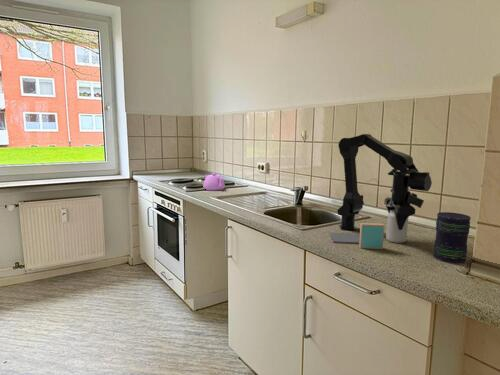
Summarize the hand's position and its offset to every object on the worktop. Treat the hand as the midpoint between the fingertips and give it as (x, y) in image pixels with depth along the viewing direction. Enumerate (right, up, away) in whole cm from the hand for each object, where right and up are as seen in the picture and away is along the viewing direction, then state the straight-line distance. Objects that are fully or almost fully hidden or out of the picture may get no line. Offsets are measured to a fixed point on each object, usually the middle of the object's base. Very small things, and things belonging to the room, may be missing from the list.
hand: (397, 227), depth 137 cm
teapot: (-84, +14, +118) cm, 145 cm away
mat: (-19, -5, +3) cm, 20 cm away
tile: (-13, -7, -8) cm, 17 cm away
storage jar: (+10, -9, -18) cm, 22 cm away
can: (0, -6, +1) cm, 6 cm away
